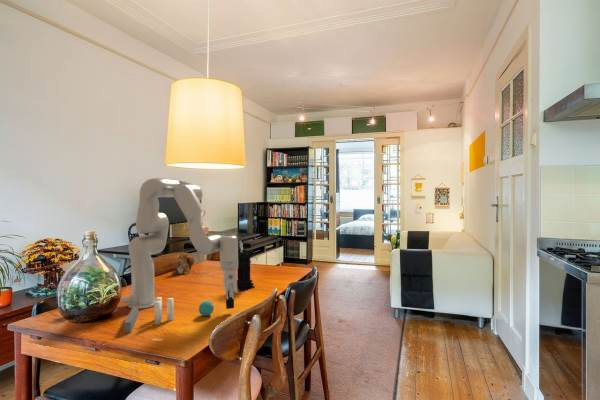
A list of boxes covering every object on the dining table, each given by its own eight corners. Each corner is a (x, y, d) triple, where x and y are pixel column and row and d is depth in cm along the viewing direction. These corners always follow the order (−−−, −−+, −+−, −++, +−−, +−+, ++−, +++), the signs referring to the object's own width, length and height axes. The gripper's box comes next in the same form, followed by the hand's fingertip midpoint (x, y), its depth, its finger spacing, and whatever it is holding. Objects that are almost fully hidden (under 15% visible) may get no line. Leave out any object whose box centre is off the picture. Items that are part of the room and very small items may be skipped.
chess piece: (244, 285, 183) (244, 249, 183) (254, 287, 178) (254, 250, 178) (233, 288, 177) (233, 251, 177) (243, 290, 172) (242, 252, 172)
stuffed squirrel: (170, 274, 209) (170, 254, 209) (184, 269, 223) (184, 250, 222) (184, 275, 206) (183, 254, 206) (197, 270, 220) (197, 251, 219)
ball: (199, 318, 133) (198, 304, 133) (198, 313, 139) (198, 299, 139) (214, 317, 135) (214, 302, 135) (213, 312, 141) (213, 298, 141)
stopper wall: (124, 333, 119) (124, 322, 119) (133, 316, 137) (132, 306, 136) (130, 332, 120) (130, 322, 120) (138, 315, 137) (138, 306, 137)
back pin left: (155, 320, 132) (155, 299, 132) (156, 318, 134) (155, 297, 134) (161, 319, 133) (161, 298, 133) (162, 317, 135) (162, 296, 135)
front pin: (167, 321, 131) (166, 299, 131) (167, 319, 133) (167, 298, 133) (173, 320, 132) (173, 299, 132) (173, 318, 134) (173, 297, 134)
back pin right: (154, 324, 127) (153, 303, 127) (154, 322, 130) (154, 301, 130) (160, 324, 128) (160, 302, 128) (161, 321, 130) (161, 300, 130)
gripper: (240, 267, 134) (241, 312, 134) (235, 261, 148) (236, 301, 148) (221, 269, 131) (222, 315, 132) (218, 262, 146) (219, 303, 146)
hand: (230, 307), depth 140 cm, fingers closed
